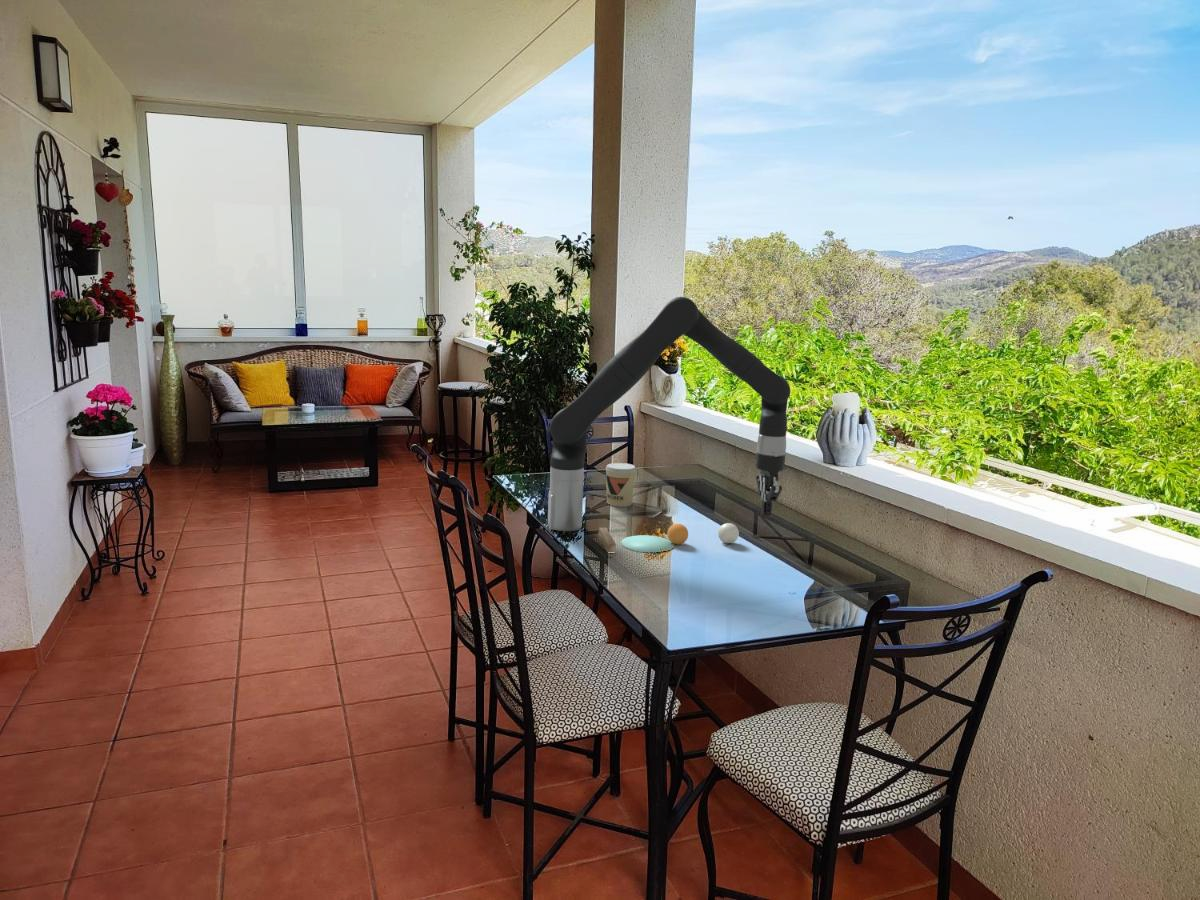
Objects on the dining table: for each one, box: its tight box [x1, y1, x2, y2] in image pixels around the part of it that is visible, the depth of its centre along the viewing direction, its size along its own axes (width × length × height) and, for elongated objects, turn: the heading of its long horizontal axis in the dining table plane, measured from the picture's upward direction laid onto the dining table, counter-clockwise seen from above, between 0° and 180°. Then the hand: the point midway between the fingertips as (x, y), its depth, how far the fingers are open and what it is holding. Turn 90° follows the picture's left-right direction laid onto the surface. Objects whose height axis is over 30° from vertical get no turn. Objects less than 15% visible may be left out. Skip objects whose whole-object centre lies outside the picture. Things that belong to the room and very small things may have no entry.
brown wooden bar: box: [598, 527, 617, 553], centre depth 206 cm, size 2×14×2 cm, turn 10°
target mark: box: [620, 534, 675, 554], centre depth 208 cm, size 14×14×1 cm
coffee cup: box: [605, 462, 637, 508], centre depth 245 cm, size 9×9×12 cm
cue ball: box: [717, 522, 740, 544], centre depth 211 cm, size 6×6×6 cm
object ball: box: [667, 523, 689, 545], centre depth 209 cm, size 6×6×6 cm
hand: (766, 514), depth 212 cm, fingers closed
